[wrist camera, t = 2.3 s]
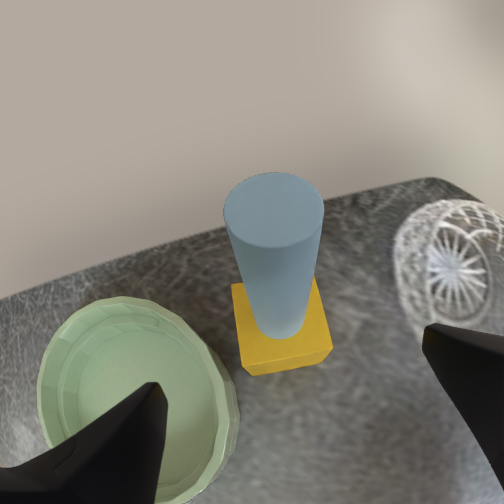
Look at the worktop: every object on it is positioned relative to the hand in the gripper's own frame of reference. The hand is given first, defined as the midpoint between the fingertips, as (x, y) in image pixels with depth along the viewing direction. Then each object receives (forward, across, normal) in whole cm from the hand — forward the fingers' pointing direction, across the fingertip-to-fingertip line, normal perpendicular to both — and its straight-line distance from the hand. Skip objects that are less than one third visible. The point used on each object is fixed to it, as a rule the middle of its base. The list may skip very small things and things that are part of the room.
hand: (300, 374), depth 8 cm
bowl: (+8, +11, +8) cm, 16 cm away
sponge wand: (+11, 0, +5) cm, 12 cm away
